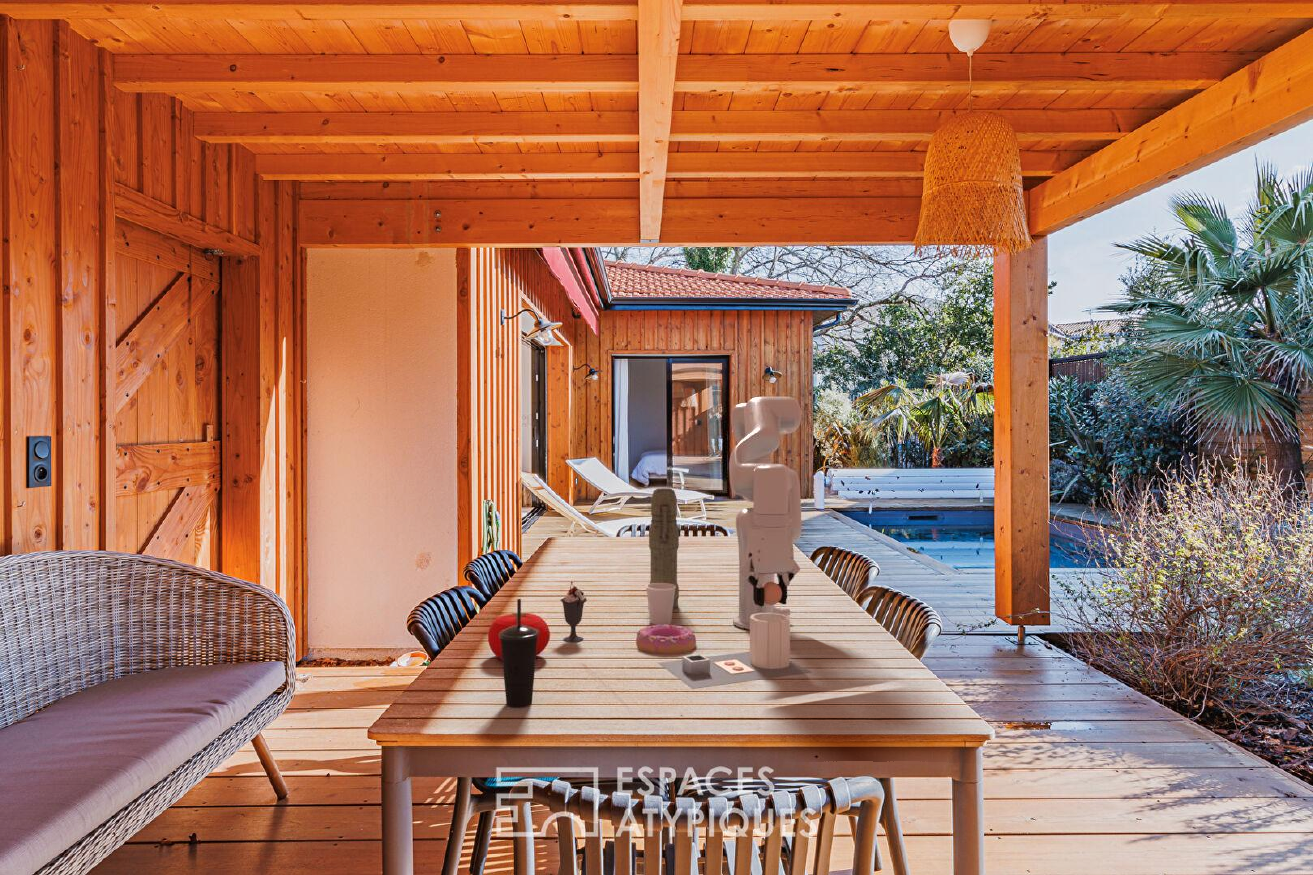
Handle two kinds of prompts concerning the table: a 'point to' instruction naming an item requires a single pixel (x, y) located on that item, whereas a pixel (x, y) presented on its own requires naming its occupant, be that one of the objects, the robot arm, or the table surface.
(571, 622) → the sundae
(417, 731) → the table surface
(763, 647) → the tube
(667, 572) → the olive tall column
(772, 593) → the ball
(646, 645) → the donut
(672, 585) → the dixie cup
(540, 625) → the tomato
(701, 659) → the grey hollow block
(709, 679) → the board
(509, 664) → the drinking cup
